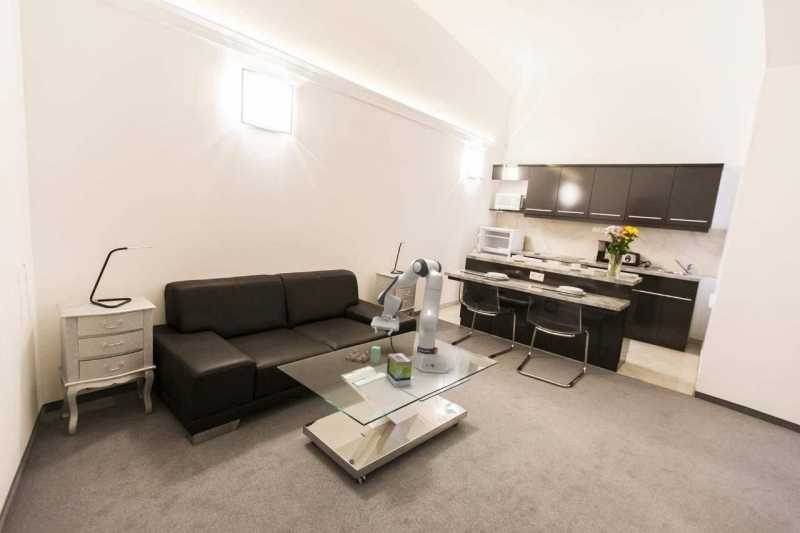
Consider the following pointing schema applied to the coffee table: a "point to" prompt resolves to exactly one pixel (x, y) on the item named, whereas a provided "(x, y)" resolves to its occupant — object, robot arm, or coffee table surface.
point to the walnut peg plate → (358, 357)
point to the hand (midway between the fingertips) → (382, 334)
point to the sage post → (375, 354)
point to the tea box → (399, 369)
